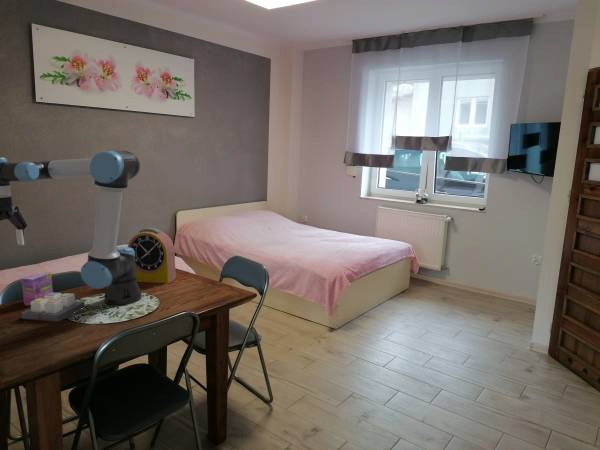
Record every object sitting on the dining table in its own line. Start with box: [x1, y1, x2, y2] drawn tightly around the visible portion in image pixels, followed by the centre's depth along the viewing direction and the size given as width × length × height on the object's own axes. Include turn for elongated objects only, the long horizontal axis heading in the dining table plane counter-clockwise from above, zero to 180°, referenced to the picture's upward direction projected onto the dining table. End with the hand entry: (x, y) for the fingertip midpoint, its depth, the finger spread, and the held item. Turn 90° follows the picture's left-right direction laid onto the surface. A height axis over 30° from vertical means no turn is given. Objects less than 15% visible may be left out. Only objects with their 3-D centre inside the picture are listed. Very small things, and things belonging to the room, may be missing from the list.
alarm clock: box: [127, 227, 177, 284], centre depth 214 cm, size 21×9×26 cm, turn 80°
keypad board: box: [21, 300, 86, 323], centre depth 172 cm, size 16×15×2 cm
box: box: [20, 271, 54, 306], centre depth 184 cm, size 10×6×12 cm, turn 168°
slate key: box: [44, 291, 63, 300], centre depth 175 cm, size 4×4×4 cm
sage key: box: [57, 292, 76, 307], centre depth 174 cm, size 4×4×4 cm
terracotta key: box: [44, 299, 63, 313], centre depth 167 cm, size 4×4×4 cm
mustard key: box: [30, 298, 49, 312], centre depth 168 cm, size 4×4×4 cm
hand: (7, 248), depth 175 cm, fingers open, 13 cm apart
